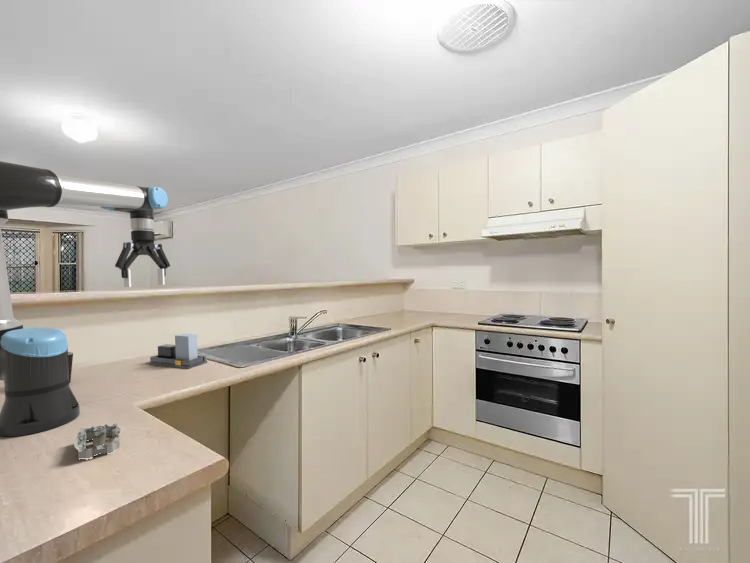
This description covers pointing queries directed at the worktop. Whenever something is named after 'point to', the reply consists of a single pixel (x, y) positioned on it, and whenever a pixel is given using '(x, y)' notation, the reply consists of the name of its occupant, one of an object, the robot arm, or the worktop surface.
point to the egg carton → (97, 440)
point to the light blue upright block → (186, 346)
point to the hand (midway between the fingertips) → (145, 285)
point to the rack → (174, 358)
